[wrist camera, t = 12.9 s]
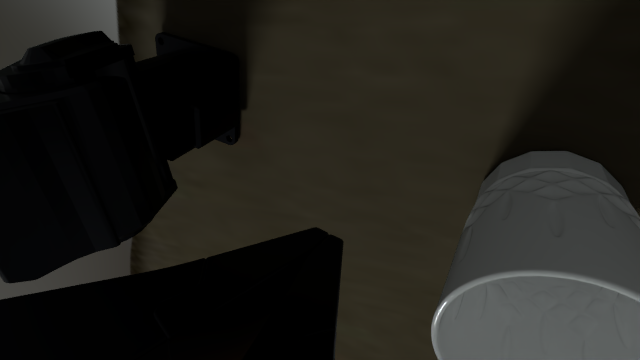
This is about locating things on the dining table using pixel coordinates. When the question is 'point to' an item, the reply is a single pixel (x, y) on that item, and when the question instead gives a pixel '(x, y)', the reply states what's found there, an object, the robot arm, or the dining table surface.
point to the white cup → (544, 267)
